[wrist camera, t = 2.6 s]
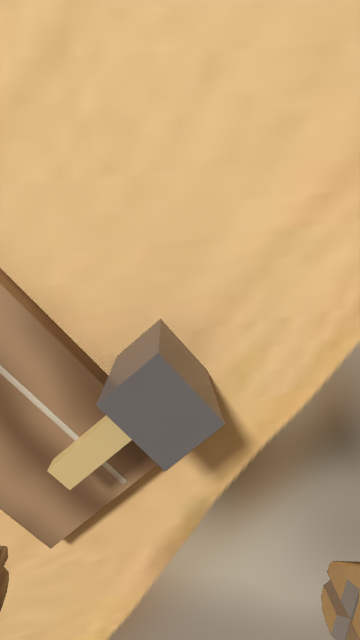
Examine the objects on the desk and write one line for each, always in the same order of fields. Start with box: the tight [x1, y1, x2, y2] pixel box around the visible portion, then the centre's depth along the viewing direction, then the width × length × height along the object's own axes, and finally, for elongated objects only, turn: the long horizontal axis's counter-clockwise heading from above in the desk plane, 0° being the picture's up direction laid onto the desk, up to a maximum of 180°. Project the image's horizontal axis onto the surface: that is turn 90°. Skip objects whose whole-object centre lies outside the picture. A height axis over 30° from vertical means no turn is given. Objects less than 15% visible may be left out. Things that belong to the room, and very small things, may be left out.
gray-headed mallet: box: [47, 319, 225, 490], centre depth 19 cm, size 10×5×7 cm, turn 131°
